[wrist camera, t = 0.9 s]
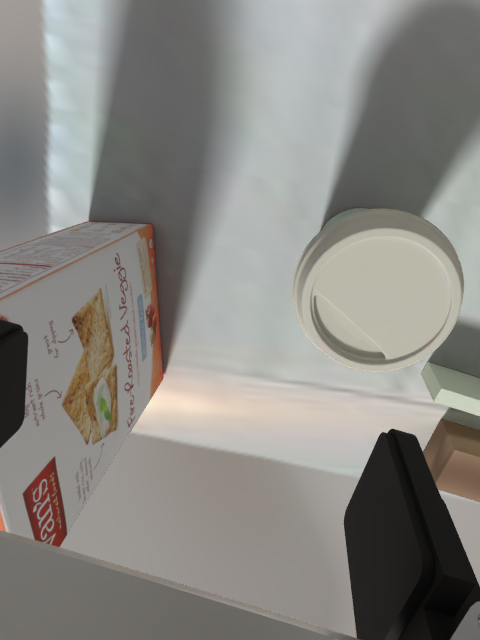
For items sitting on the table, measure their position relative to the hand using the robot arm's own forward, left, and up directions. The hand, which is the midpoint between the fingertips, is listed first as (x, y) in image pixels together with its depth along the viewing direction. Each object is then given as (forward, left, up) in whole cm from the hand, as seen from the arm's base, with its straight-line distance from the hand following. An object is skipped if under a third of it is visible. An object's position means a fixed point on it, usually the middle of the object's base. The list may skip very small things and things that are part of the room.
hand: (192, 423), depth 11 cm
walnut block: (+12, +20, -23) cm, 33 cm away
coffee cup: (-1, +6, -24) cm, 24 cm away
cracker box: (+9, -10, -24) cm, 27 cm away
